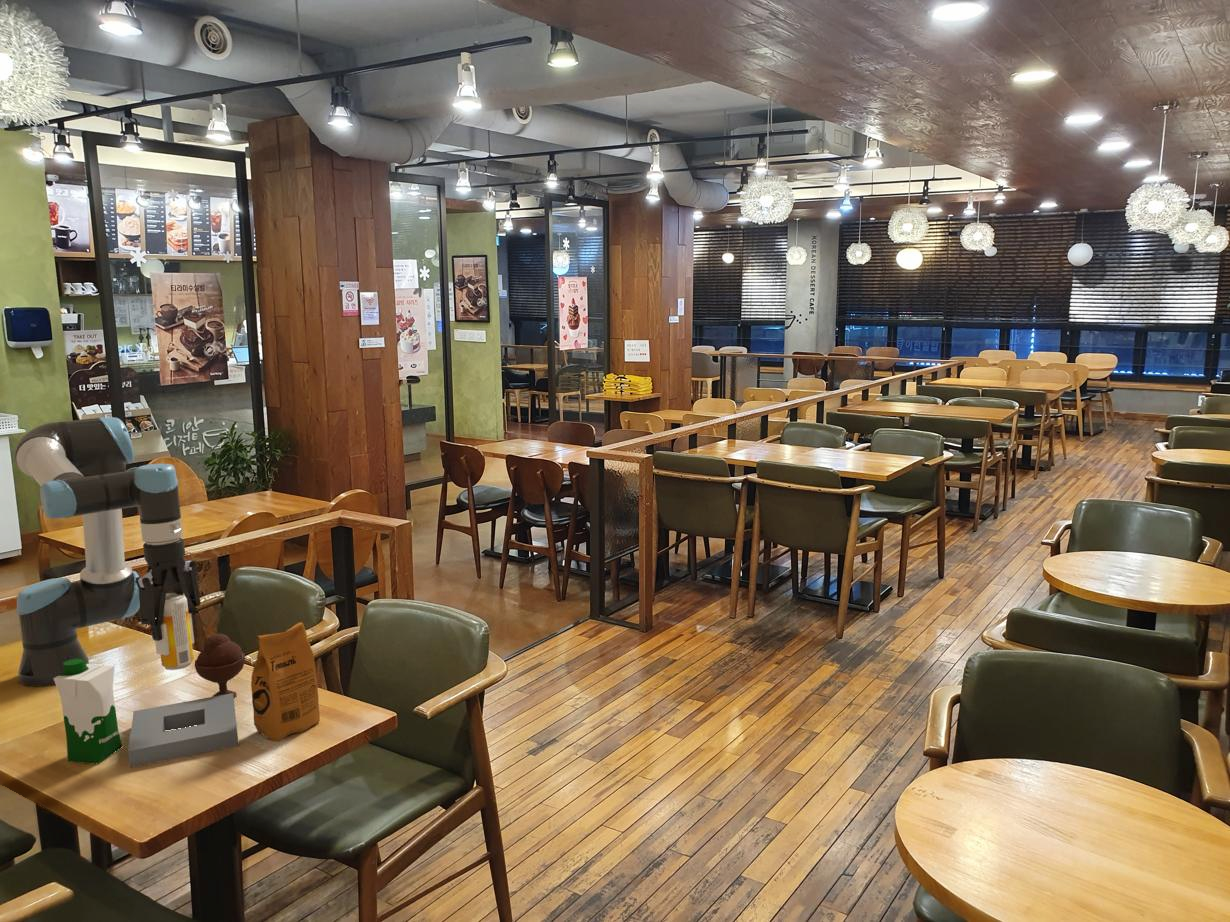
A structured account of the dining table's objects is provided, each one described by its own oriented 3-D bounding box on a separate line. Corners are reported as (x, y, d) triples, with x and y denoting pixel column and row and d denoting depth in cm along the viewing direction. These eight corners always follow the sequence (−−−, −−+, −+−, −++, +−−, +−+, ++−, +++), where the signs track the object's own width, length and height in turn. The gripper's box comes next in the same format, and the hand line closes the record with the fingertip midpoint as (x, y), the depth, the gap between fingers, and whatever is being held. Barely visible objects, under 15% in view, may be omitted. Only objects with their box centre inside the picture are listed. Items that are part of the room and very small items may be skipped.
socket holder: (135, 726, 201) (133, 711, 200) (234, 707, 209) (233, 693, 208) (130, 767, 183) (127, 751, 182) (238, 745, 191) (237, 729, 190)
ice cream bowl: (188, 706, 210) (180, 643, 208) (219, 686, 221) (213, 626, 218) (228, 709, 208) (222, 646, 205) (258, 689, 219) (252, 628, 216)
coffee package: (248, 731, 197) (238, 633, 193) (301, 710, 206) (293, 616, 203) (272, 745, 191) (262, 643, 187) (326, 723, 200) (317, 626, 196)
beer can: (182, 657, 197) (174, 590, 195) (200, 662, 194) (192, 594, 192) (155, 667, 192) (147, 598, 190) (173, 673, 189) (165, 602, 187)
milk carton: (92, 743, 194) (80, 652, 190) (130, 746, 192) (118, 654, 188) (60, 763, 185) (46, 669, 182) (99, 767, 184) (86, 672, 180)
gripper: (138, 553, 178) (152, 667, 183) (212, 530, 196) (223, 634, 200) (110, 551, 181) (124, 663, 185) (185, 528, 198) (196, 630, 203)
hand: (175, 647), depth 192 cm, fingers closed on beer can, 6 cm apart
